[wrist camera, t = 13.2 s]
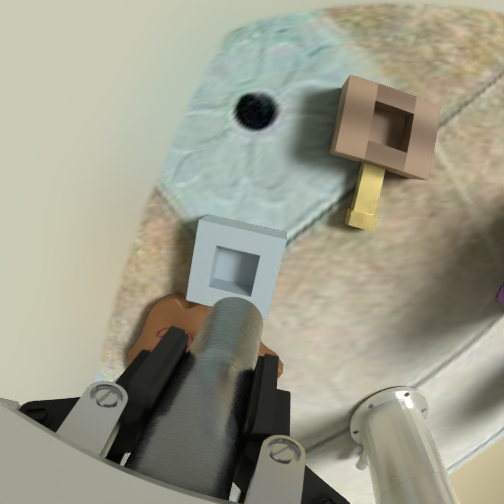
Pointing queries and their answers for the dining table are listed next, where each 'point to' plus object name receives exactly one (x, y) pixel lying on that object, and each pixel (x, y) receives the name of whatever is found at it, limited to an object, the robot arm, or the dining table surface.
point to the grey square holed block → (235, 262)
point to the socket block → (385, 128)
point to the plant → (177, 324)
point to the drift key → (366, 197)
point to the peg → (204, 405)
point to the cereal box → (501, 294)
